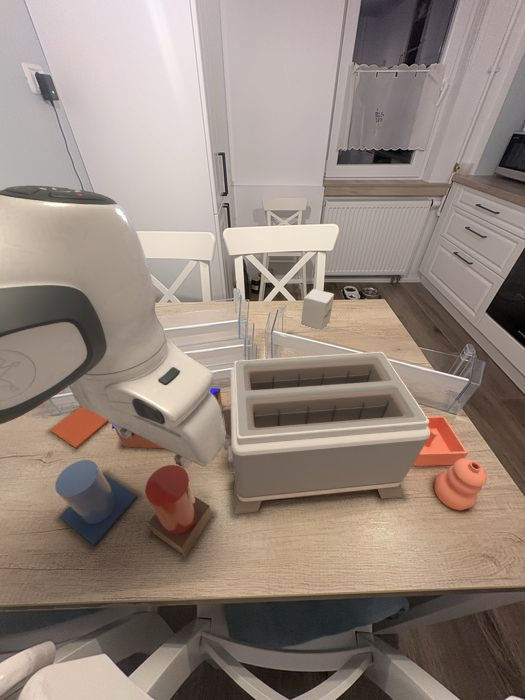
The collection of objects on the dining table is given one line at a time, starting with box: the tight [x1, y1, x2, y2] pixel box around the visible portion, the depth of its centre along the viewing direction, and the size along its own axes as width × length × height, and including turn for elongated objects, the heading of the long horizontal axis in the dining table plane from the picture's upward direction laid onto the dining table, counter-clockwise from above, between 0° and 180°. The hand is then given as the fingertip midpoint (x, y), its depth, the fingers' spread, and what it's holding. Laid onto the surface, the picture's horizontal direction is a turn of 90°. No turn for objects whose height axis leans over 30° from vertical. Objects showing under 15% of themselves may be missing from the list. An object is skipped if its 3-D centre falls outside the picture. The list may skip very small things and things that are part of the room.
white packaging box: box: [300, 288, 335, 330], centre depth 93 cm, size 7×7×13 cm
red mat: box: [49, 405, 110, 449], centre depth 66 cm, size 9×9×1 cm
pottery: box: [412, 415, 488, 511], centre depth 56 cm, size 18×10×10 cm, turn 2°
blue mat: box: [59, 472, 138, 547], centre depth 52 cm, size 9×9×1 cm
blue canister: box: [54, 459, 117, 524], centre depth 49 cm, size 6×6×10 cm
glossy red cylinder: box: [144, 464, 198, 535], centre depth 45 cm, size 6×6×10 cm
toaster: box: [219, 351, 430, 515], centre depth 54 cm, size 19×34×20 cm, turn 96°
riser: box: [147, 495, 213, 557], centre depth 49 cm, size 7×7×4 cm
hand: (156, 447), depth 38 cm, fingers open, 8 cm apart
